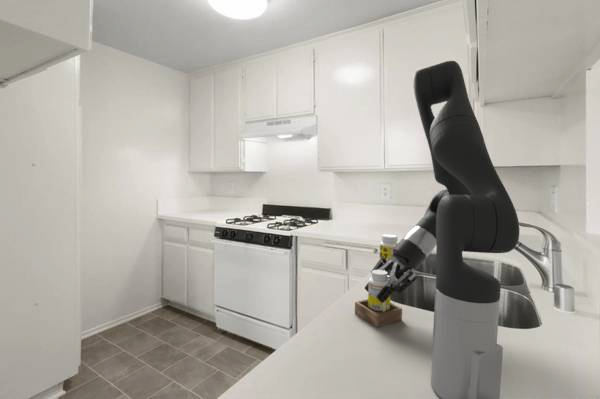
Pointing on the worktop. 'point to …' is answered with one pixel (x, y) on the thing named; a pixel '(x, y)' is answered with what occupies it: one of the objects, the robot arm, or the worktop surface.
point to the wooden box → (378, 314)
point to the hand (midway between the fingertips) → (373, 295)
